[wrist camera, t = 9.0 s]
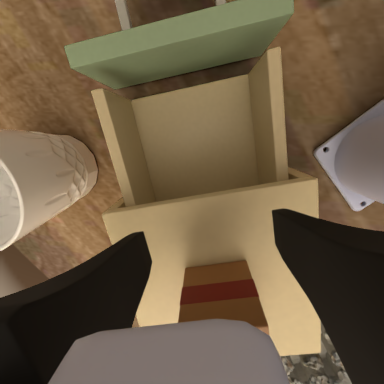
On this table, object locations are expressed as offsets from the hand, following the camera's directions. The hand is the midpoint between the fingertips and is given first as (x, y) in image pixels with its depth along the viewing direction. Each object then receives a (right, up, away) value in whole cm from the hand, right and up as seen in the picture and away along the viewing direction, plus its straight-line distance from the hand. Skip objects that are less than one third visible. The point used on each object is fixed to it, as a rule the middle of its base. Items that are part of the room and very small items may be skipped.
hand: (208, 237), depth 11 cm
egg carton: (+13, -16, +15) cm, 25 cm away
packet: (+1, -5, +4) cm, 7 cm away
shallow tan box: (+2, -2, +11) cm, 12 cm away
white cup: (-14, +5, +10) cm, 18 cm away
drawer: (-1, +10, +7) cm, 12 cm away
